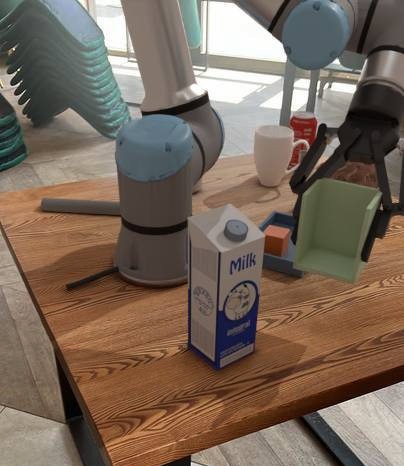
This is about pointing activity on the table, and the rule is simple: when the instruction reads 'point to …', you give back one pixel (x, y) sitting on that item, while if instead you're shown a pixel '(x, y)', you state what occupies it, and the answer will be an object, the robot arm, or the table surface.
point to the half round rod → (81, 206)
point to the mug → (274, 153)
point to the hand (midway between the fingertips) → (328, 250)
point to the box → (335, 228)
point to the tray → (287, 260)
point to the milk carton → (223, 284)
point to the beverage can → (302, 134)
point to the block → (276, 240)
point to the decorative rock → (356, 174)
